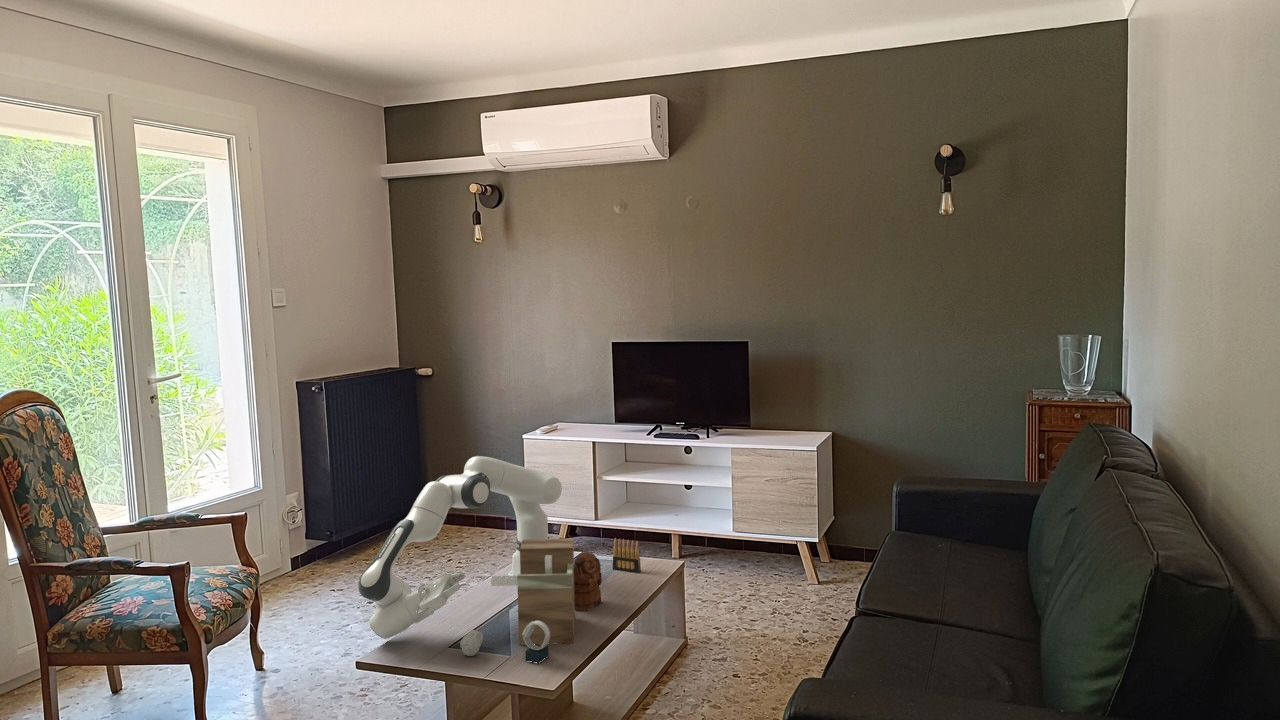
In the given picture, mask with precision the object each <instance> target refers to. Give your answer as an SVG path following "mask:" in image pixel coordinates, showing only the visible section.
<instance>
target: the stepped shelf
mask: <svg viewBox="0 0 1280 720" xmlns="http://www.w3.org/2000/svg"><path fill="white" fill-rule="evenodd" d="M574 553H575V549H574V538H573V537H572V538H571V537H569V538H549V539H523V540H522V544H521V547H520V574H518V575H517V585H516V586H517V617H518V618H517V620H518V621H517V622H518V645H519V646H527V645H526V643H525V642H526V641H524V639H523V635H522V633H523V631H524V629H525V628H526V626H527V625H528V624H529V623H530V622H532V621H534V622H535V621H536V620H538V621H542V622H544V623H545V624H546V625H547V626H548V628H549V631H550V639H549V642H548V643H573V644H574V637H573V636H574V633H575V622H576V621H575V619H576V615H575V614H576V613H575V611H576V610H575V601H574V564H575V563H574V562H575V557H574V555H575V554H574ZM545 555H552V574H545ZM545 628H546V627H545ZM529 638H530V640H531V642H532V643H533V644H541V645H542V644H543V641H544V638H545V632H544V630H543V629H542V628H541V627H540V626H538V625H536V628H535V630H534V631H533V632H532V634H531V635H530V637H529Z"/></svg>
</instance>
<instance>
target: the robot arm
mask: <svg viewBox="0 0 1280 720" xmlns="http://www.w3.org/2000/svg"><path fill="white" fill-rule="evenodd" d="M562 487H563V486H562V483H561V480H560V479H559V478H557V477H556V476H554V475H552V474H549V473H547V472H544V471H540V470H536V469H532V468H529V467H525V466H522V465H519V464H514V463H512V462H511V463H510V462H508V461H504V460H501V459H497V458H494V457H490V456H482V455H476V456H472V457H471V458H469V459H468V460H467V461H466V463H465V465H464V468H463V473H461V474H444V475H441V476H440V477H438V478H437V479H436V480H435V481H429V482H428V483H427V484H425V486H423V488H422V490H421V491H420V492H419V494H418V496H417V497H416V500H415V501H414V502H413V505H412V507H411V509H410V511H409V513H408V514H407V516H406V517H405V518H404V519H402V520H400V521H399V522H398V523H397V524H396V525H395V526H394V527H393V529H392V530H391V532H390V533H389V535H388V536H387V537H386V540H385V541H384V542H383V544H382V546H381V547H380V549H379V551H377V552H378V553H376V555H375V557H374V559H372V561H371V563H369V565H368V566H366V568H365V569H364V571H363V572H362V573H361V575H360V576H359V579H358V584H357V585H358V592H359V593H360V594H359V595H361V596H362V597H363V598H364V599H367V600H369V601H371V602H374V603H375V604H376V605H375V609H374V612H373V615H372V616H371V617H370V619H369V622H368V623H369V626H370V628H371V630H372V632H374V634H375V635H376V636H378V637H379V638H381V639H390V638H392V637H394V636H397V635H399V634H401V633H403V632H404V631H406V630H408V629H409V628H410V627H411V626H412V625H414V624H418V623H420V622H422V621H423V620H425V619H427V618H429V617H430V616H432V615H434V614H435V612H436V611H437V610H440V609H441V608H443V607H444V606H445V605H446V604H447V601H448V599H449V598H450V597H451V596H452V595H454V594H455V593H456V592H459V590H460V589H461V585H460V584H459V583H458V582H461V581H463V580H464V579H465V577H466V575H465V573H464V572H460V573H458V574H454V575H452V573H446V574H444V575H442V576H440V577H439V576H438V578H436V579H434V580H432V581H430V582H429V583H427V582H425V583H423V584H421V585H420V586H418V588H416V589H415V590H413V591H412V590H411V589H412V588H411V586H410V585H409V583H408V582H407V581H406V580H404V579H402V578H401V577H400V576H397V575H396V574H394V573H393V568H394V565H395V564H396V562H397V561H398V558H399V557H400V556H401V554H402V553H403V551H404V549H405V547H406V546H408V544H410V543H413V542H414V543H415V542H416V543H417V542H418V543H424V542H428V541H432V540H433V539H434V538H436V536H437V535H438V534H439V532H441V529H442V527H443V525H444V522H445V520H446V518H447V515H448V512H449V510H450V509H451V508H455V509H471V510H472V509H478V508H482V507H483V506H484V505H486V504H487V502H488V500H489V498H490V495H491V492H493V493H497V494H500V495H504V496H507V497H508V498H509V500H510V502H511V505H512V508H513V510H514V514H515V518H516V534H517V535H516V536H517V537H516V539H515V546H516V547H515V548H516V551H515V552H514V553H513V554H512V560H511V561H512V562H511V565H512V566H511V567H512V568H511V570H510V571H509V572H508V573H507V576H514V575H518V574H520V547H521V544H522V540H523V539H550V537H549V526H548V525H549V523H548V515H547V514H546V512H545V511H544V510H543V509H542V507H541V505H552V504H555V503H556V502H557V501H558V500H560V497H561V494H562V491H563V490H562V489H563V488H562Z"/></svg>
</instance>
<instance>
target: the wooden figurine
mask: <svg viewBox="0 0 1280 720" xmlns="http://www.w3.org/2000/svg"><path fill="white" fill-rule="evenodd" d="M602 578H603V577H602V572H601V563H600V559H599V558H598V557H597V556H596V555H595V554H594V553H592V552H588V551H584V552H581V553H580V554H578V555H577V556H576V557H575V558H574V601H575V611H580V610H583V611H589V610H588V609H591V610H593V609H594V608H596V607H597V605H598V606H599V603H602V591H601V587H600V586H601V585H602ZM595 606H596V607H595ZM592 608H593V609H592Z"/></svg>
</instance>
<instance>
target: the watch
mask: <svg viewBox="0 0 1280 720" xmlns="http://www.w3.org/2000/svg"><path fill="white" fill-rule="evenodd" d="M536 625H538V626H540V627H541V628H542V629H543V630H544V632H545V638H544V641H543V644H541V645H540V644H535V645H534V644H533V643H532V642H531V640H530V638H529V637H530V635H531V634H532V632H533V631H534V630H535V628H536ZM545 627H546V628H545ZM522 635H523V639H524V641H526V642H525V643H526V645H525V646H526V647H528V648H527V650H525V662H526V661H532V662H537V663H539V662H540V661H542V660H543V659H544V658H546V657H547V656H548V655H549V656H550V653H549V650H550V649H549V644H548V642H549V639H550V631H549V628H548V626H547V625H546V624H545V623H544V622H542V621H538V620H536V621H535V622H534V621H532V622H530V623H529V624H528V625H527V626H526V628H525V629H524V631H523V633H522ZM546 659H547V658H546Z"/></svg>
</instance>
